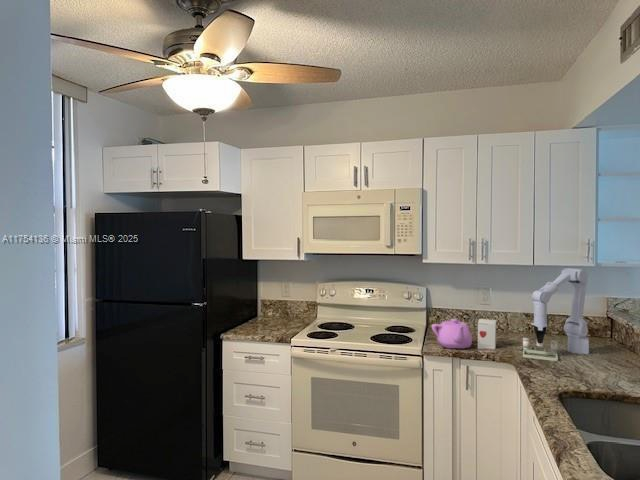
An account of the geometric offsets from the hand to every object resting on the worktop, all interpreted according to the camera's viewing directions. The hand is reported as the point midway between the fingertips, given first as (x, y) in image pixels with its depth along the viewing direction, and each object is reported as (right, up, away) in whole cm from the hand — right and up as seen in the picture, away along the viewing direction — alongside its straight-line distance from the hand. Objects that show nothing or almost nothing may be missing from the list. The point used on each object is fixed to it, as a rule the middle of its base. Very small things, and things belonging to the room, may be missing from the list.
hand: (540, 342), depth 214 cm
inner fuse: (+10, -7, +6) cm, 14 cm away
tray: (0, -8, 0) cm, 8 cm away
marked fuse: (0, -2, 0) cm, 2 cm away
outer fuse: (-1, -7, +12) cm, 14 cm away
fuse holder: (+5, -8, +9) cm, 13 cm away
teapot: (-36, -8, +21) cm, 42 cm away
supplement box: (-19, -8, +19) cm, 28 cm away
